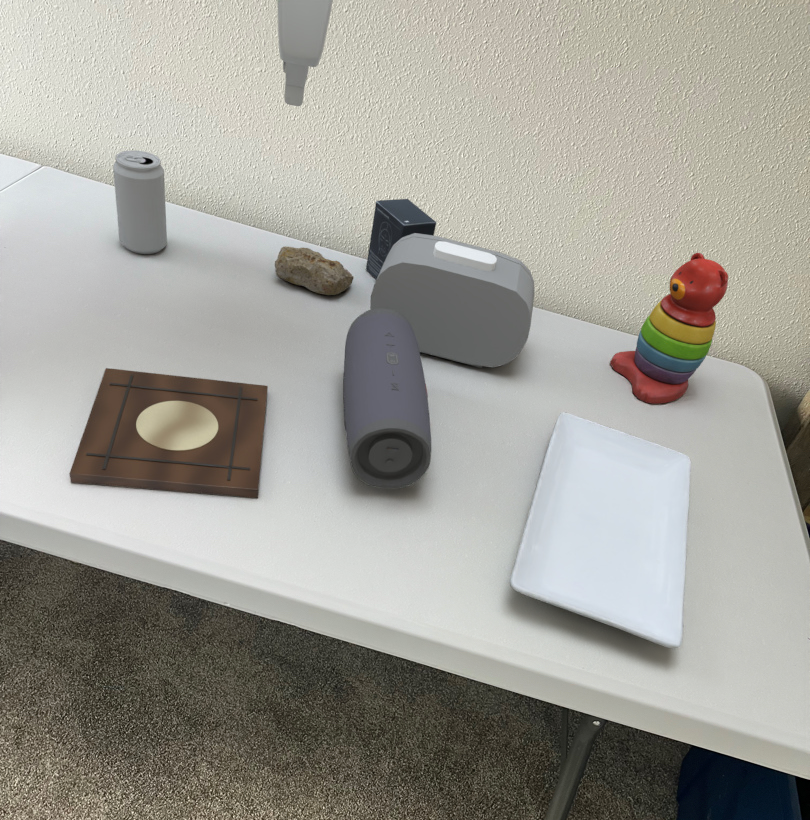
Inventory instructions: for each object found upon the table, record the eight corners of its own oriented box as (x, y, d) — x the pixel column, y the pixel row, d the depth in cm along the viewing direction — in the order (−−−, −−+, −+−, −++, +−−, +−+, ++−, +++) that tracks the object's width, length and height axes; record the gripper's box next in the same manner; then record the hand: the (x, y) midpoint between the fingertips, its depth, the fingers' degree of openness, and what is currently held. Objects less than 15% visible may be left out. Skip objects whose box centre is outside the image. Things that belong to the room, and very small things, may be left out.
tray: (681, 474, 96) (694, 453, 93) (668, 670, 73) (684, 648, 71) (550, 430, 97) (559, 408, 95) (497, 608, 75) (507, 585, 72)
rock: (338, 305, 109) (342, 276, 106) (264, 281, 110) (265, 252, 107) (355, 282, 114) (360, 254, 111) (284, 259, 115) (287, 231, 112)
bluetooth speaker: (425, 502, 84) (446, 428, 77) (339, 494, 82) (351, 418, 75) (410, 379, 99) (426, 309, 92) (337, 371, 98) (348, 298, 91)
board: (70, 482, 76) (68, 472, 75) (106, 376, 89) (105, 366, 88) (257, 498, 79) (258, 489, 78) (267, 394, 92) (267, 384, 91)
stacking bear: (604, 359, 112) (654, 240, 99) (662, 358, 115) (718, 242, 103) (641, 405, 105) (700, 283, 93) (702, 402, 108) (767, 284, 96)
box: (423, 291, 116) (437, 221, 109) (390, 295, 114) (403, 224, 106) (396, 265, 120) (408, 197, 113) (364, 269, 118) (375, 199, 110)
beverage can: (163, 259, 109) (160, 171, 101) (115, 253, 108) (108, 163, 99) (169, 238, 113) (166, 152, 105) (123, 232, 112) (116, 145, 104)
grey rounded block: (518, 344, 110) (547, 254, 101) (513, 380, 104) (544, 287, 94) (377, 308, 110) (393, 215, 101) (363, 341, 104) (379, 245, 94)
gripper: (270, -107, 77) (261, 51, 87) (272, -67, 63) (260, 116, 73) (334, -92, 78) (317, 61, 88) (349, -49, 64) (327, 128, 74)
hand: (291, 87), depth 80 cm, fingers open, 8 cm apart
